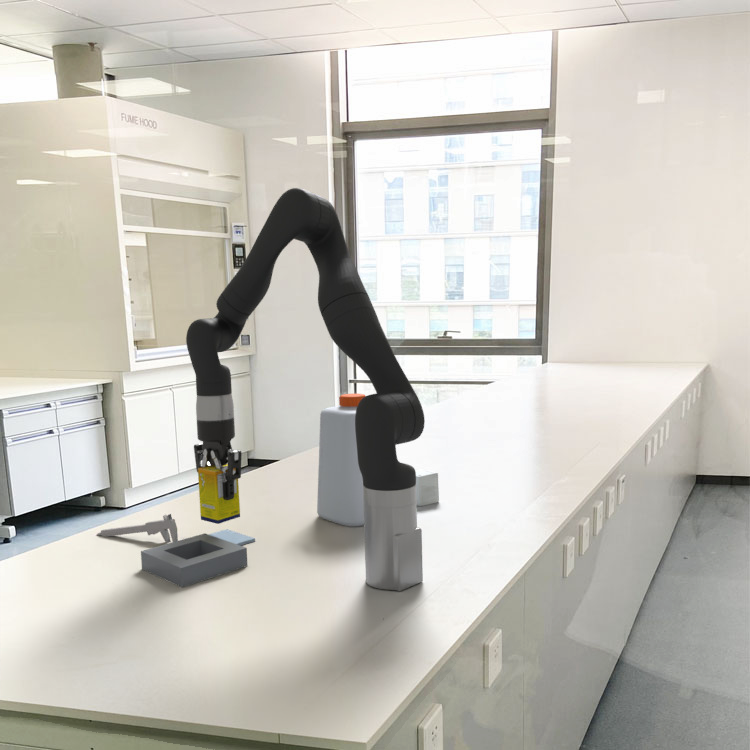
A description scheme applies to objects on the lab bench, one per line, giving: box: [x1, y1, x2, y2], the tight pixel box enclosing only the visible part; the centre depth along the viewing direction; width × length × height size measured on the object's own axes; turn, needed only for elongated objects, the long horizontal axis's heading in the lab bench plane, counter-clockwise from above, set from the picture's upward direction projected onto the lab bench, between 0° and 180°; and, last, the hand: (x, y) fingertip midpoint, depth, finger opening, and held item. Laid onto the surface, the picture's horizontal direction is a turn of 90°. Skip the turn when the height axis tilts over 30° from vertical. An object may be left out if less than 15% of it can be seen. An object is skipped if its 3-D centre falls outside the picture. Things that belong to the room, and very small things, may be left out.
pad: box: [207, 529, 256, 546], centre depth 157 cm, size 10×10×1 cm
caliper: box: [96, 513, 179, 544], centre depth 161 cm, size 20×1×6 cm, turn 69°
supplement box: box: [197, 463, 241, 525], centre depth 156 cm, size 6×6×11 cm
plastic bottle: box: [316, 393, 366, 527], centre depth 172 cm, size 15×15×28 cm
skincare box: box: [415, 468, 440, 507], centre depth 184 cm, size 6×6×7 cm
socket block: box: [140, 533, 248, 588], centre depth 142 cm, size 14×14×4 cm
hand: (219, 496), depth 156 cm, fingers closed on supplement box, 6 cm apart
